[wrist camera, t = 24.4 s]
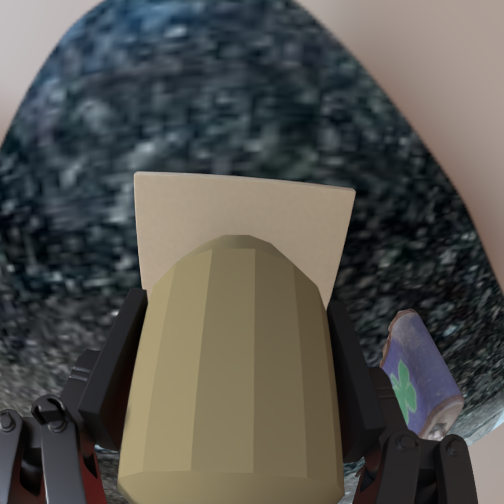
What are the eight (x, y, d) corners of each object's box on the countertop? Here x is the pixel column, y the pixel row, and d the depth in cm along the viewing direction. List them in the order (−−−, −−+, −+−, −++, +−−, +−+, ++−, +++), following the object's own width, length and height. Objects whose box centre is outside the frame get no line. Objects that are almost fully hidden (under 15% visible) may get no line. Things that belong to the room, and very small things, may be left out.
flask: (392, 308, 21) (452, 432, 12) (426, 304, 21) (490, 417, 12) (368, 385, 26) (398, 488, 16) (397, 381, 26) (431, 478, 16)
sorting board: (137, 171, 16) (133, 174, 16) (353, 188, 17) (356, 191, 17) (167, 417, 28) (166, 422, 27) (286, 425, 29) (287, 430, 28)
